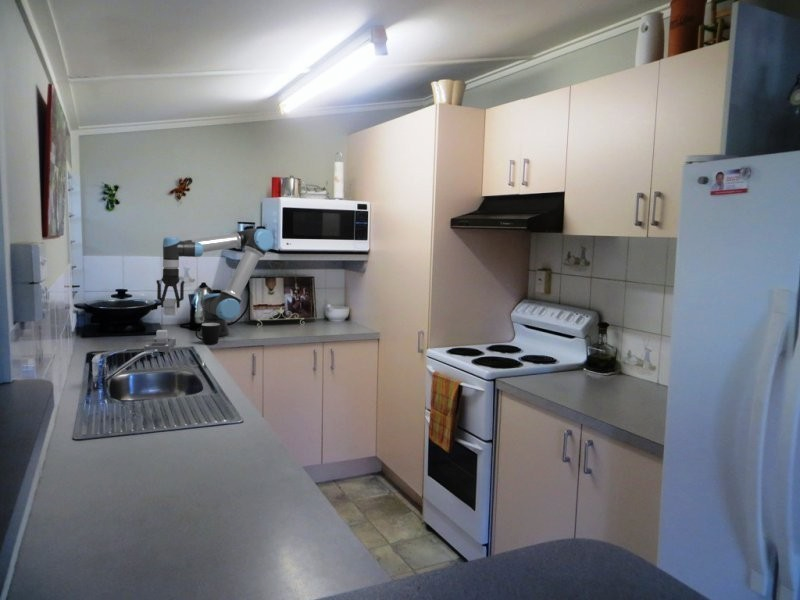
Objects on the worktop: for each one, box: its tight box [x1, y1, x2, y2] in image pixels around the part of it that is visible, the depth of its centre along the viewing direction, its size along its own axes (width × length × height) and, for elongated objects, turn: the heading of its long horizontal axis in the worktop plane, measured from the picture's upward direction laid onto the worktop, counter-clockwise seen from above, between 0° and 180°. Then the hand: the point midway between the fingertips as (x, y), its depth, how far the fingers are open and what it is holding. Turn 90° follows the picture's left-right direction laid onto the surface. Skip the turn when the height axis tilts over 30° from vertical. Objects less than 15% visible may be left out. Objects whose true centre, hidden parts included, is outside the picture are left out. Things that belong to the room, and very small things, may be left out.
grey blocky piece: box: [143, 329, 177, 354], centre depth 290 cm, size 11×20×8 cm, turn 12°
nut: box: [164, 298, 176, 316], centre depth 299 cm, size 5×5×8 cm
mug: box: [195, 323, 220, 346], centre depth 304 cm, size 12×9×10 cm
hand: (170, 313), depth 300 cm, fingers closed on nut, 5 cm apart
